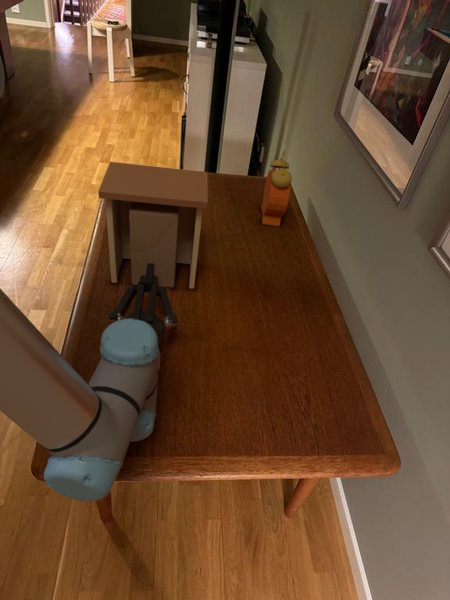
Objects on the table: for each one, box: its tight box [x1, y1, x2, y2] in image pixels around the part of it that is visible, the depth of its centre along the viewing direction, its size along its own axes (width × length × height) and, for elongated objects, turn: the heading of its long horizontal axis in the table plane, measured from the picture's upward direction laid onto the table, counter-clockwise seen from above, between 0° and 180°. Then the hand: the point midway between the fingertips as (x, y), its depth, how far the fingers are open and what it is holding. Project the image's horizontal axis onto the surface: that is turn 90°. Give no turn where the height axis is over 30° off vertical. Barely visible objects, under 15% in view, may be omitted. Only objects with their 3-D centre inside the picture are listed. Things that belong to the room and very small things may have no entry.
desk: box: [97, 161, 209, 289], centre depth 90 cm, size 13×21×24 cm, turn 92°
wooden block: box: [129, 202, 180, 289], centre depth 92 cm, size 10×10×20 cm
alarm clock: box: [260, 150, 293, 227], centre depth 120 cm, size 13×6×20 cm, turn 179°
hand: (150, 268), depth 87 cm, fingers closed
